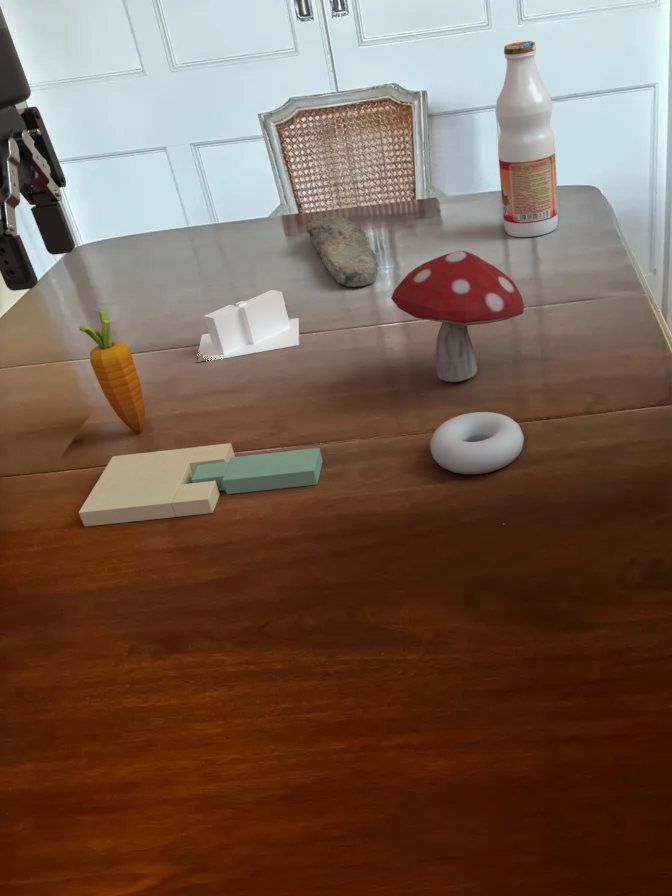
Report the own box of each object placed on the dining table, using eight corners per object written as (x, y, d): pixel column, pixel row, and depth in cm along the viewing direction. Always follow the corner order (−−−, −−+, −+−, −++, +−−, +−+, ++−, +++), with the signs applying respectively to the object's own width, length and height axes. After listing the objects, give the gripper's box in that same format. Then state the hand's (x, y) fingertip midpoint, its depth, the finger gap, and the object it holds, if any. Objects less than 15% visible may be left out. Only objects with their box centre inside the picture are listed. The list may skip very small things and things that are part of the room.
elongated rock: (331, 303, 143) (392, 293, 145) (327, 270, 140) (389, 260, 141) (302, 235, 169) (353, 227, 171) (297, 205, 166) (350, 198, 168)
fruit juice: (537, 240, 151) (525, 49, 134) (493, 235, 157) (477, 50, 139) (569, 224, 156) (562, 37, 139) (526, 219, 162) (514, 38, 145)
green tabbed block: (323, 461, 99) (319, 447, 98) (317, 484, 95) (313, 470, 94) (204, 474, 100) (199, 460, 99) (194, 498, 97) (188, 483, 95)
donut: (535, 437, 98) (449, 431, 101) (533, 408, 96) (446, 403, 99) (509, 485, 91) (418, 476, 94) (507, 455, 89) (414, 447, 92)
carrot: (130, 446, 108) (83, 327, 99) (112, 435, 112) (65, 318, 102) (166, 430, 111) (124, 312, 102) (148, 420, 114) (105, 304, 105)
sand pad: (235, 456, 103) (230, 442, 102) (213, 513, 94) (208, 498, 92) (118, 469, 104) (112, 456, 103) (84, 526, 95) (78, 512, 94)
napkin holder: (298, 317, 136) (289, 279, 133) (300, 344, 128) (290, 305, 124) (201, 334, 136) (189, 297, 132) (195, 363, 127) (183, 324, 123)
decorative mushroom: (428, 348, 121) (411, 233, 112) (543, 349, 116) (535, 229, 107) (386, 402, 109) (364, 279, 100) (512, 406, 104) (500, 277, 95)
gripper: (-56, 27, 67) (32, 248, 77) (-159, 53, 56) (-39, 307, 66) (39, 12, 66) (116, 237, 76) (-45, 36, 55) (58, 295, 65)
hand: (44, 269), depth 71 cm, fingers open, 8 cm apart
